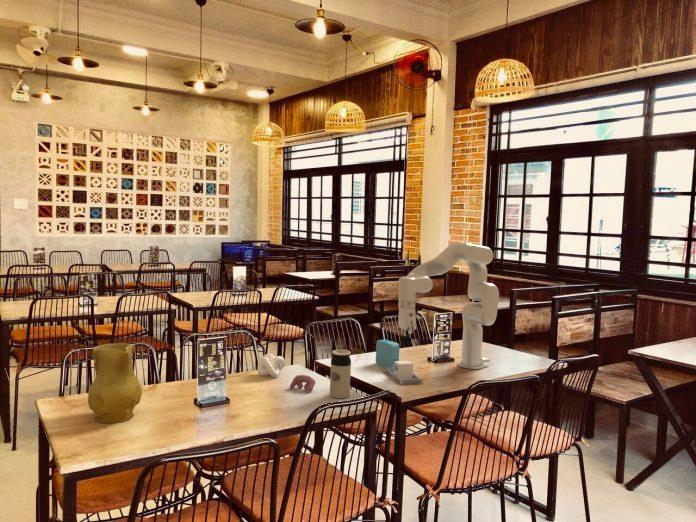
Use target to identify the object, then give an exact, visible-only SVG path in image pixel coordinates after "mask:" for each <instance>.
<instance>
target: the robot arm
mask: <svg viewBox="0 0 696 522" xmlns="http://www.w3.org/2000/svg"><path fill="white" fill-rule="evenodd" d="M493 259H494V252H493V250H492V249H491V248H490V247H488V246H484V245H479V244H473V243H468V242H457V241H456V242H452V243H450V244H449V245H447V247H446V248H445V249H444V250H442V251H441V252H440V253H439V254H438V255H437V256H436V257H434V258H432V259H430V260H428V261H426V262H424V263H421V264H419V265H417V266H416V267H415V268H414V269H412V270H411V271H410V272H409V273H408V274H407V275H406V276H401V277H399V279H398V303H397V304H398V319H397V320H398V322H397V324H398V327H399V328H400V330H401V345H402V346H403V345H406V346H407V345H410V344H411V334H413V331H415V330H417V317H416V316H417V315H416V293H421V294H422V293H423V294H425V293H428V292H430V291H431V290H432V288H434V282H433V280H432V279H431V278H430V277H432V276H433V277H434V276H438V275H439V276H440V275H443V274H446V273H447V272H449V271H450V270H451V269H452V268H453V267H454V266H455V265H456V264H458V263H459V262H460V261H461V262H465V263H466V265H467V267H468V269H469V278H468V285H467V286H468V287H467V296H468V298H469V299H471V300H473V301H478V302H481V303H482V304H481V303H477V302H468V303H465V305H464V306H463V308H462V310H461V316H462V323H463V325H462V327H463V328H462V329H463V330H462V343H461V357H460V358H461V360H459V361H458V362H457V365H458V366H459V367H461V368H463V369H469V370H481V369H483V368H484V367H485V364H484V363H490V362H491V361H490V360H491V359H490V358H489V357H487V358H486V357H482V350H483V334H484V333H483V332H484V330H483V326H486V327H487V326H488V327H489V326H492V325H494V323H495V321H496V319H497V316H498V309H499V308H498V307H499V301H500V300H499V299H500V292H499V291H500V290H499V288H498V287H497V285H495V284H494V283H491V282H488V268H487V265H489V264H490V263H492V261H493Z"/></svg>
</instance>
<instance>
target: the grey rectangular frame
mask: <svg viewBox="0 0 696 522" xmlns="http://www.w3.org/2000/svg"><path fill="white" fill-rule="evenodd" d="M383 367H384V366H383ZM383 372H384V373H385V374H387V375H388V376H389V377H391V378H392V379H393V380H394V381H395V382H396V383H398V384H399V385H420V384H424V378H423V377H421V376H419V375H418V374H417V373H415V372H414V371H413V378H412V379H401V378H400V377H398V376H397V375H396V374H395V373H394V367H384V371H383Z"/></svg>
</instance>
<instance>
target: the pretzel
mask: <svg viewBox="0 0 696 522" xmlns="http://www.w3.org/2000/svg"><path fill="white" fill-rule="evenodd" d="M284 367H285V359H284V357H283V356H280V355H278V356H275V355H274V354H272V353H266V354H264V355H263V356H262V357H260V359H259V361H258V363H257V373H258V375H259V376H261V377H265V376H266V377H267V376H269V375H270V377H272V378H275V379H276V378H278V377H279V376H280V371H282V369H284Z"/></svg>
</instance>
